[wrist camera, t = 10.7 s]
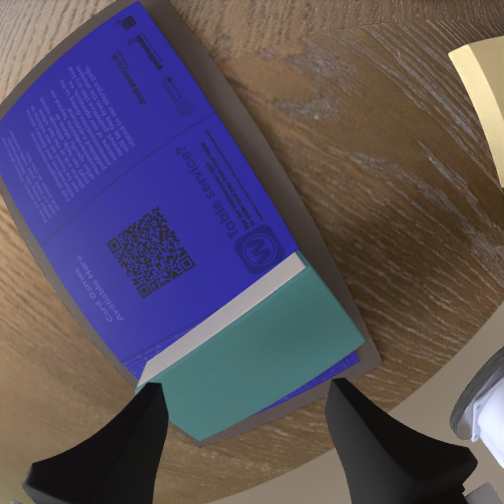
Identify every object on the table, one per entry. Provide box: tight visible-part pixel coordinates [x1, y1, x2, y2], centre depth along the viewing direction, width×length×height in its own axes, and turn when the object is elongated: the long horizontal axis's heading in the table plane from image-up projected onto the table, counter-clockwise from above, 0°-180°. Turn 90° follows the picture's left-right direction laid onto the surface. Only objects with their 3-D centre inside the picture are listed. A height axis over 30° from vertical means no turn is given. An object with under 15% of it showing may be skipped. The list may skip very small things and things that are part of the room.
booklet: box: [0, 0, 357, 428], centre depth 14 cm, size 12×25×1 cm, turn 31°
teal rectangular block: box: [135, 250, 366, 441], centre depth 15 cm, size 5×11×3 cm, turn 129°
